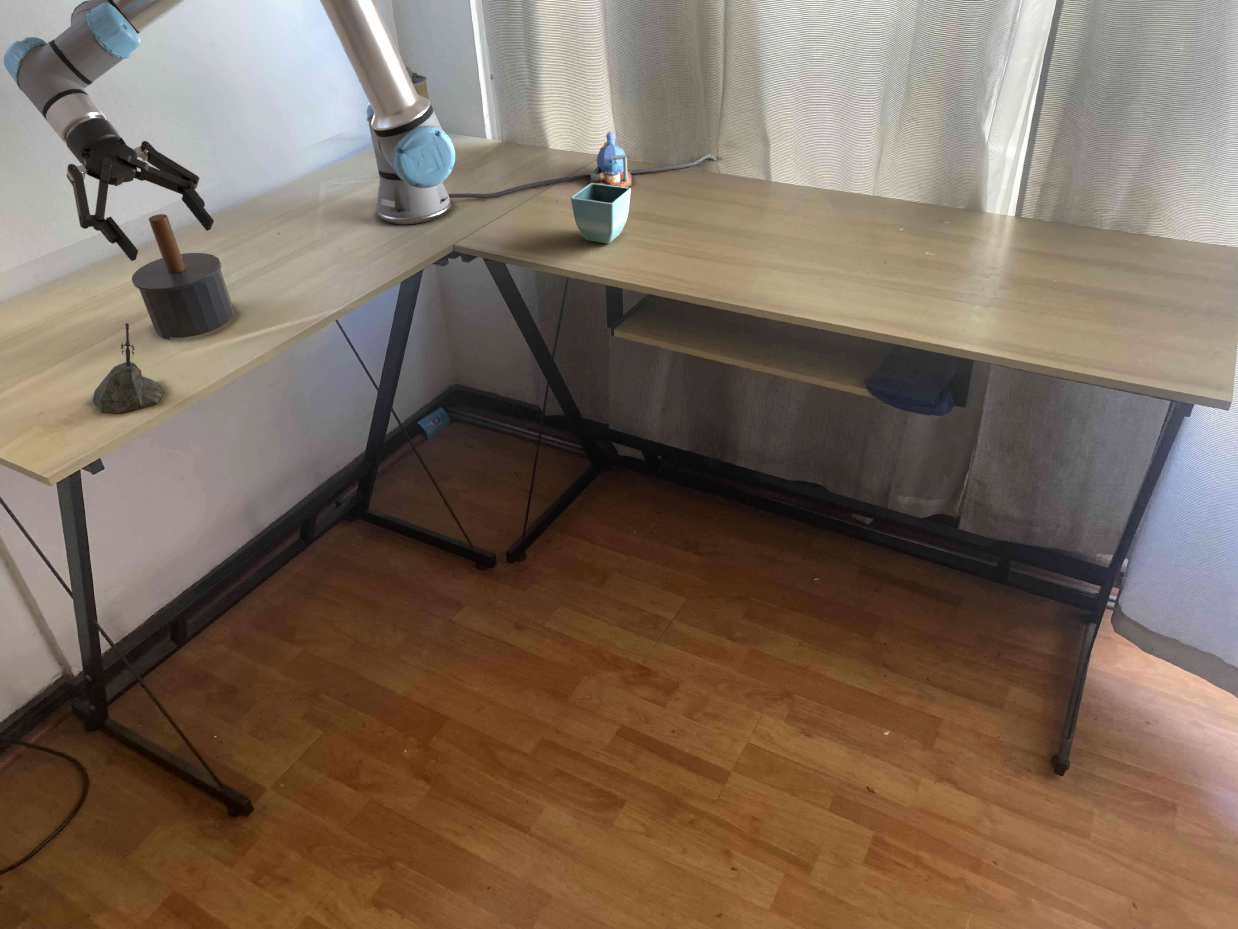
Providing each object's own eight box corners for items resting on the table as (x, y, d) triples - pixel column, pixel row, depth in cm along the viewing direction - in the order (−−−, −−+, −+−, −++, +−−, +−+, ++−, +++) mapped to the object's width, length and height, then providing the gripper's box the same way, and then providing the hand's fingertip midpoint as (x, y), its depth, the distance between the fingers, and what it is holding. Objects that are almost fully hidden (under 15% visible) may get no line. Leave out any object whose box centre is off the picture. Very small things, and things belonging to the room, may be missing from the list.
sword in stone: (85, 418, 133) (51, 345, 126) (100, 390, 140) (68, 319, 133) (157, 409, 135) (127, 336, 127) (168, 381, 141) (141, 311, 134)
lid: (212, 252, 159) (193, 195, 153) (231, 279, 150) (212, 219, 144) (127, 273, 154) (104, 214, 148) (142, 303, 144) (118, 241, 138)
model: (589, 172, 208) (587, 131, 203) (630, 170, 208) (629, 128, 203) (590, 191, 199) (587, 148, 193) (632, 189, 199) (631, 146, 193)
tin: (224, 298, 164) (209, 250, 158) (243, 325, 155) (227, 276, 150) (149, 318, 159) (130, 270, 153) (163, 348, 150) (144, 297, 144)
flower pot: (633, 232, 180) (631, 187, 174) (614, 249, 173) (612, 203, 168) (593, 226, 183) (590, 182, 177) (573, 243, 176) (569, 198, 171)
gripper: (154, 125, 156) (234, 226, 158) (6, 169, 140) (97, 281, 142) (161, 96, 150) (244, 201, 152) (8, 139, 134) (103, 256, 136)
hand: (173, 240), depth 147 cm, fingers open, 13 cm apart
